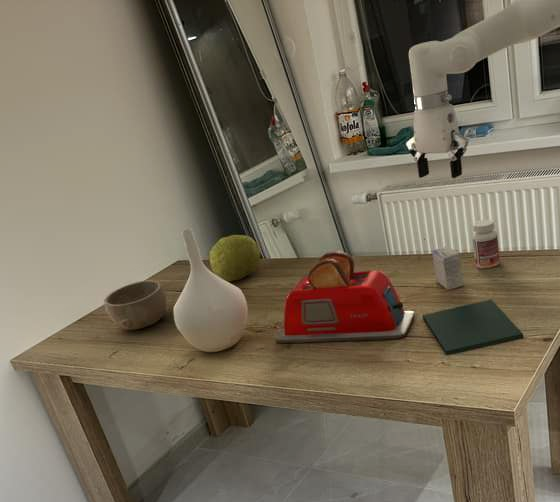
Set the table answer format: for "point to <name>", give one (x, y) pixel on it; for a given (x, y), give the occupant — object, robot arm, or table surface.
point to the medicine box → (447, 267)
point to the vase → (209, 306)
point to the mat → (471, 327)
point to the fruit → (234, 257)
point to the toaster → (343, 305)
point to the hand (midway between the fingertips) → (440, 176)
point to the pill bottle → (485, 244)
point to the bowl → (136, 304)
